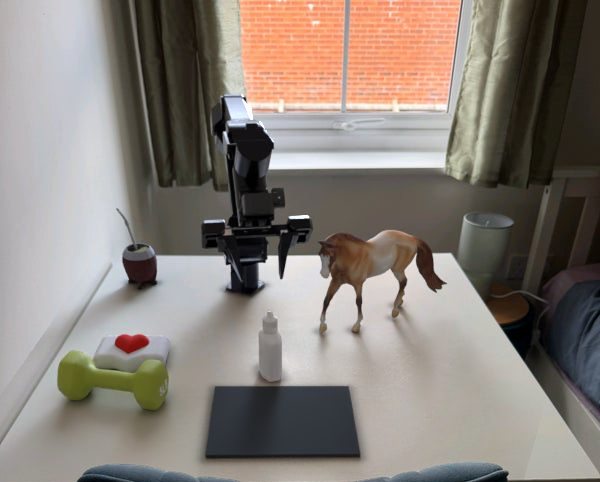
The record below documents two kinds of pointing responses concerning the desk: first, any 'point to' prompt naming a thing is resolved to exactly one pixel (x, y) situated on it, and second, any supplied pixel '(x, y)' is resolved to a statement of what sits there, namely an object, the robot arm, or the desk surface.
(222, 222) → the robot arm
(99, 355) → the icon
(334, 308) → the desk surface
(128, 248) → the mate gourd
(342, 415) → the mat
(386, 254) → the horse figurine
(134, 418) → the desk surface
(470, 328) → the desk surface
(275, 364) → the eye dropper bottle
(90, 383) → the dumbbell
